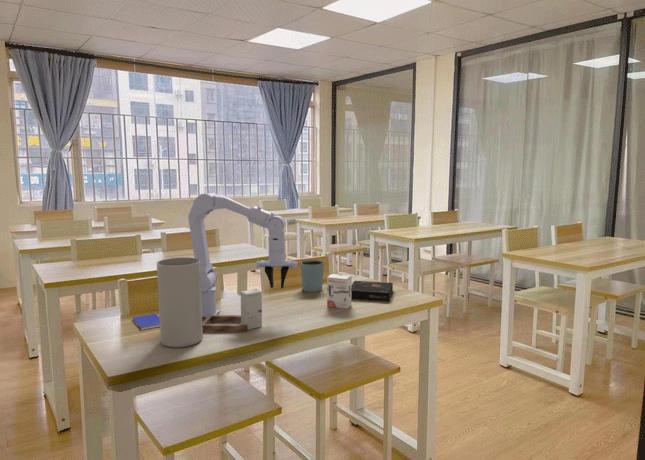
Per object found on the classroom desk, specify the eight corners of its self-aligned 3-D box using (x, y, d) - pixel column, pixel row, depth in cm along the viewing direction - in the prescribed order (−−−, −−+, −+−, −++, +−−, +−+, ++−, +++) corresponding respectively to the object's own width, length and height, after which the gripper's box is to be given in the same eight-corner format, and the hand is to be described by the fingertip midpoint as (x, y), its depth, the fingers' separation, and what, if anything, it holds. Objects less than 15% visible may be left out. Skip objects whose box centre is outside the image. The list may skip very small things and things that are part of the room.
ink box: (326, 306, 182) (326, 276, 181) (331, 303, 187) (331, 273, 185) (347, 309, 179) (347, 278, 178) (352, 305, 184) (352, 275, 182)
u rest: (200, 331, 156) (199, 325, 156) (209, 320, 167) (209, 314, 167) (246, 332, 156) (246, 326, 155) (253, 320, 166) (253, 315, 166)
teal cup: (298, 291, 203) (298, 264, 202) (303, 285, 213) (303, 259, 212) (322, 293, 202) (321, 265, 200) (325, 286, 212) (325, 260, 210)
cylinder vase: (179, 331, 156) (175, 256, 153) (211, 336, 151) (208, 259, 148) (151, 344, 145) (147, 263, 141) (185, 351, 140) (181, 267, 136)
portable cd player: (392, 291, 206) (392, 282, 205) (388, 302, 189) (389, 292, 189) (354, 289, 210) (354, 280, 209) (348, 300, 193) (348, 290, 192)
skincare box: (246, 330, 157) (245, 294, 156) (240, 326, 161) (239, 291, 159) (263, 326, 161) (262, 291, 159) (257, 322, 164) (256, 288, 163)
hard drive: (166, 322, 162) (156, 313, 172) (141, 327, 157) (132, 317, 167) (166, 327, 162) (156, 317, 172) (141, 331, 157) (132, 321, 168)
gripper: (254, 251, 165) (254, 289, 167) (295, 252, 165) (296, 290, 167) (257, 248, 172) (258, 284, 174) (298, 248, 172) (298, 285, 174)
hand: (277, 287), depth 171 cm, fingers open, 3 cm apart
